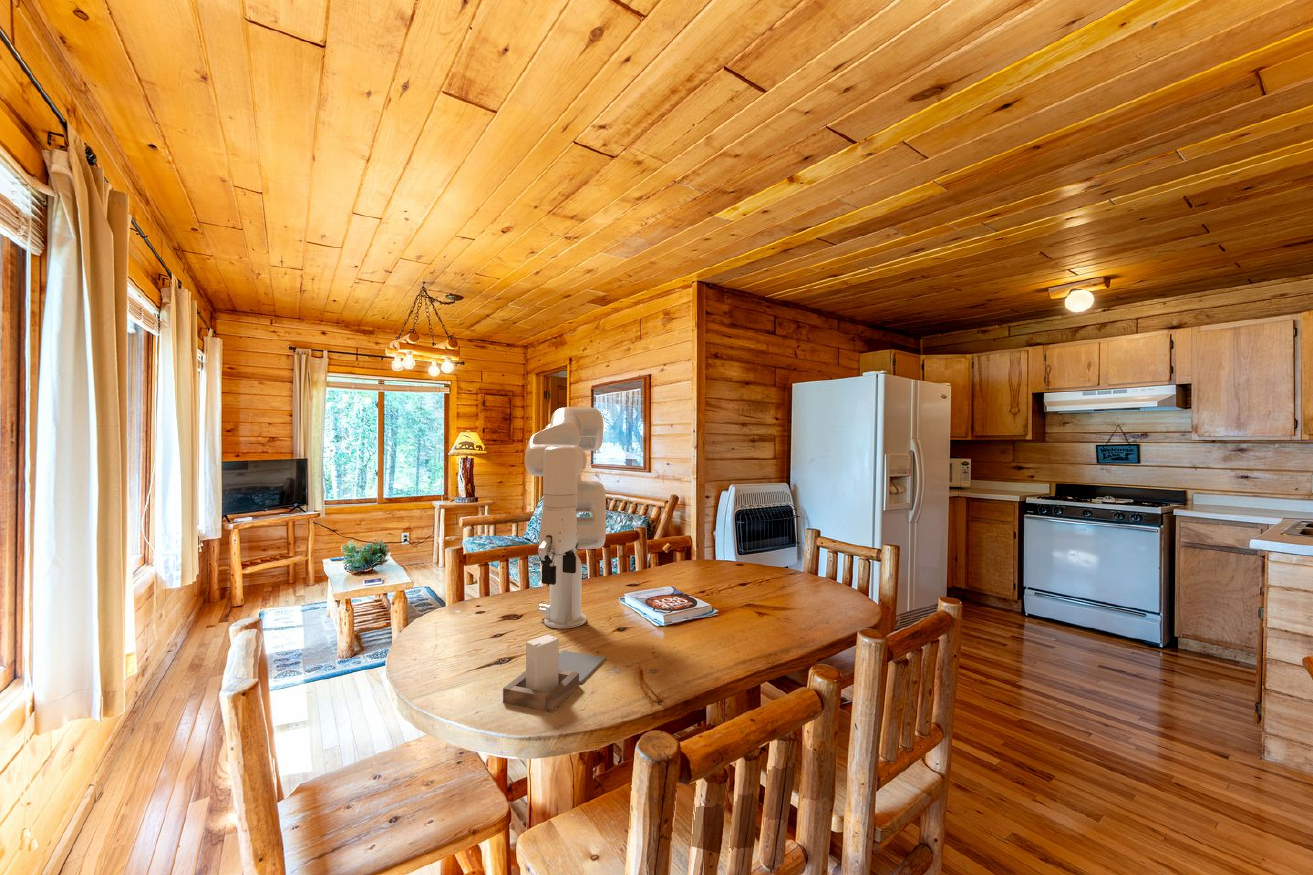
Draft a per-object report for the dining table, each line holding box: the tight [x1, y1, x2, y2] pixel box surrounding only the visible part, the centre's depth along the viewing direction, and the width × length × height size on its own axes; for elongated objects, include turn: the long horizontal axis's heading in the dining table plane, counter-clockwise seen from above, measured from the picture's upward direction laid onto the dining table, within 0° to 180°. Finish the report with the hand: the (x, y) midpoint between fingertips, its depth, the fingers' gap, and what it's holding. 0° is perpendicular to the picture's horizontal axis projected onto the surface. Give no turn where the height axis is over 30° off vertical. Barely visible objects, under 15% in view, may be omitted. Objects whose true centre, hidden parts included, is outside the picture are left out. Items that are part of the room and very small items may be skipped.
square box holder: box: [502, 670, 580, 713], centre depth 119 cm, size 12×12×3 cm
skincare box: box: [525, 634, 560, 693], centre depth 119 cm, size 6×4×12 cm
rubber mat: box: [559, 649, 607, 685], centre depth 133 cm, size 12×14×1 cm
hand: (559, 578), depth 121 cm, fingers open, 9 cm apart
